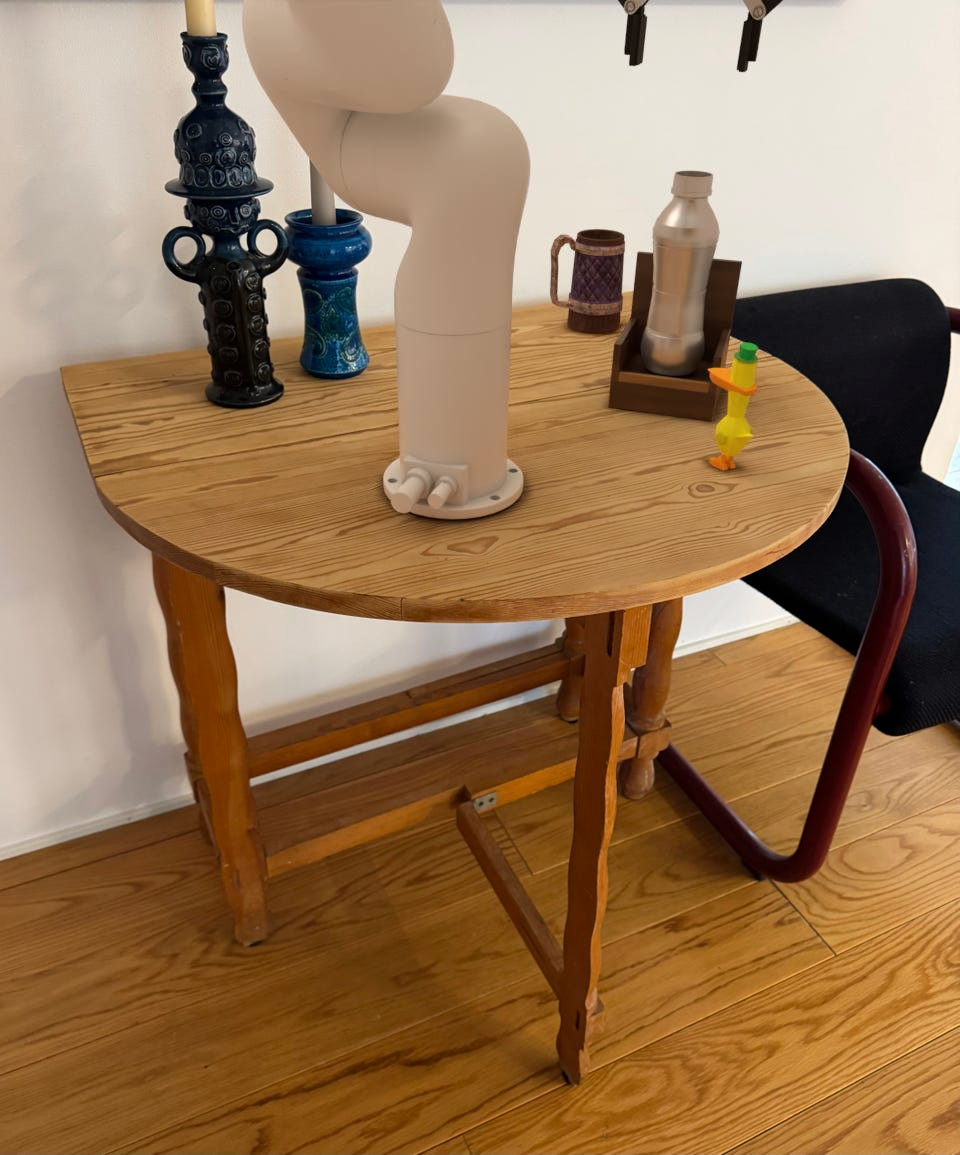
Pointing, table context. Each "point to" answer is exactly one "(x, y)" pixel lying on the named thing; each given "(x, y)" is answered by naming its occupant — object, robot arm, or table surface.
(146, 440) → the table surface
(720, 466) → the toy figure
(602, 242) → the mug
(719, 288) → the wooden chair
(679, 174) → the silver water bottle
